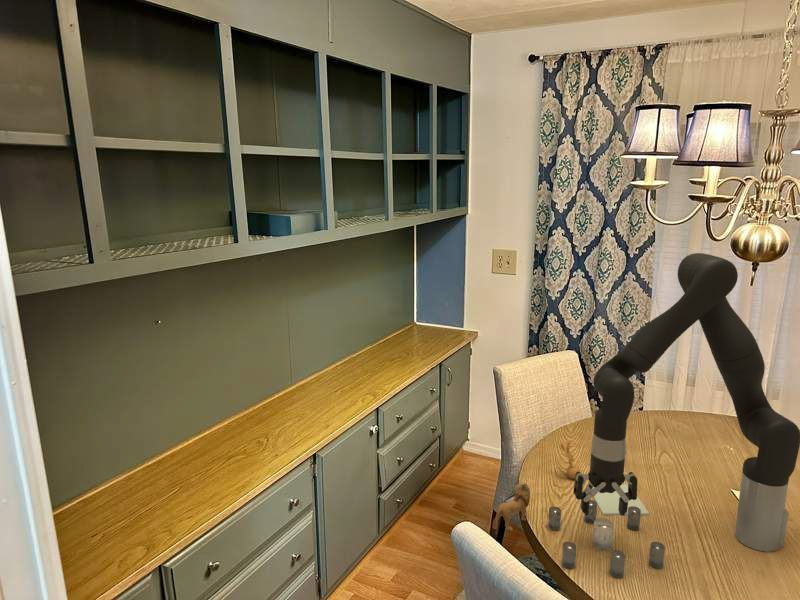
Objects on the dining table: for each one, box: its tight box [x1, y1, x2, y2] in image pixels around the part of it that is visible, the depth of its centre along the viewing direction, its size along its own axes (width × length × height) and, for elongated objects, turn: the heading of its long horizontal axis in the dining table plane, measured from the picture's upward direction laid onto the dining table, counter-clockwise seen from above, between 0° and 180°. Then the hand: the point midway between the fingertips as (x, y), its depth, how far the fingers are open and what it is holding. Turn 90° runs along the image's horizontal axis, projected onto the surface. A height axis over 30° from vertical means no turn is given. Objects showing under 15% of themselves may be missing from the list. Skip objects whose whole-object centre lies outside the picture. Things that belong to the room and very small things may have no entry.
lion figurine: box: [492, 481, 531, 535], centre depth 143 cm, size 15×5×9 cm, turn 138°
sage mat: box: [592, 483, 650, 516], centre depth 152 cm, size 12×14×1 cm
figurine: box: [560, 439, 582, 480], centre depth 163 cm, size 8×6×12 cm
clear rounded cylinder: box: [592, 517, 615, 552], centre depth 133 cm, size 4×4×6 cm
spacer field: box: [548, 499, 666, 580], centre depth 133 cm, size 23×23×5 cm
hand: (603, 513), depth 132 cm, fingers open, 8 cm apart
